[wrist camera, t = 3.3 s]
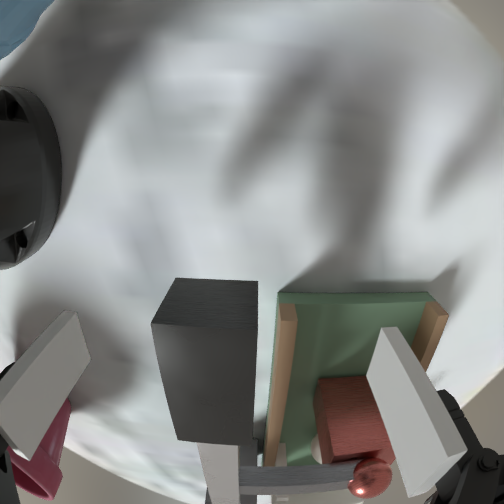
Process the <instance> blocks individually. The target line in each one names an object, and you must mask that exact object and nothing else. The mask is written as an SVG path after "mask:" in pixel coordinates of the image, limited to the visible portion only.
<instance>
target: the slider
mask: <svg viewBox="0 0 504 504" xmlns="http://www.w3.org/2000/svg"><path fill="white" fill-rule="evenodd" d="M151 328H152V334H153V339H154V344H155V349H156V354H157V359H158V364H159V369H160V373H161V378H162V382H163V386H164V390H165V394H166V398H167V402H168V406H169V410H170V414H171V418H172V421H173V425H174V428H175V432H176V435H177V439H178V440H182V441H190V442H197V446H198V450H199V455H200V459H201V463H202V467H203V472H204V476H205V480H206V484H207V487H208V491H209V495H210V499H211V502H212V504H240V494H244V495H286V494H305V493H317V492H327V491H335V490H342V489H348V490H349V491H350V493H351V494H353V495H354V496H356V497H358V498H363V499H364V498H366V499H367V498H372V497H376V496H378V495H380V494H381V493H383V492H384V491H385V490H386V489H387V488H388V486H389V485H390V483H391V480H392V470H391V467H390V465H391V464H392V462H393V461H394V460H395V459H396V457H395V454H394V451H393V448H392V445H391V442H390V439H389V436H388V433H387V431H386V428H385V425H384V422H383V419H382V417H381V414H380V411H379V408H378V406H377V403H376V400H375V398H374V395H373V392H372V390H371V387H370V385H369V382H368V379H367V377H366V376H356V377H341V378H322V379H318V383H317V387H316V391H315V395H314V399H313V409H314V415H315V421H316V427H317V433H318V439H319V446H320V452H321V458H322V464H318V465H304V466H278V467H258V466H240V446H252V436H253V417H254V398H255V378H256V357H257V335H258V281H241V280H215V279H192V278H175V280H174V282H173V284H172V285H171V287H170V289H169V291H168V292H167V294H166V296H165V298H164V300H163V301H162V303H161V305H160V307H159V309H158V311H157V312H156V314H155V316H154V318H153V320H152V322H151Z"/></svg>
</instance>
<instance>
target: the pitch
mask: <svg viewBox="0 0 504 504" xmlns="http://www.w3.org/2000/svg"><path fill="white" fill-rule="evenodd" d="M448 317H449V314H448V313H447V312H446V311H445V310H444V309H443V308H442V307H441V306H440V305H439V303H438V302H437V301H436V300H435V299H434V298H433V297H432V296H431V295H430V294H429V293H428V292H409V293H287V292H278V295H277V308H276V321H275V333H274V345H273V356H272V368H271V378H270V389H269V399H268V409H267V418H266V428H265V437H264V446H263V455H262V463H261V467H278V466H304V465H318V464H320V463H318V462H317V461H316V460H315V459H314V458H313V456H312V454H311V449H310V446H311V442H312V439H313V438H314V436H315V435H316V434H317V427H316V421H315V415H314V409H313V399H314V395H315V391H316V387H317V383H318V379H322V378H341V377H356V376H366V375H367V372H368V369H369V366H370V363H371V360H372V357H373V353H374V350H375V347H376V344H377V340H378V337H379V334H380V330H381V328H383V327H397V328H398V329H399V331H400V332H401V334H402V335H403V337H404V338H405V340H406V342H407V343H408V345H409V346H410V348H411V349H412V351H413V353H414V354H415V356H416V358H417V359H418V361H419V362H420V364H421V366H422V367H423V369H424V371H425V372H426V370H427V368H428V366H429V364H430V362H431V359H432V357H433V355H434V352H435V350H436V348H437V345H438V343H439V340H440V338H441V335H442V333H443V330H444V327H445V325H446V322H447V319H448ZM257 448H258V439H252V446H240V466H257ZM363 503H364V499H363V498H358V497H356V496H354V495H353V494H351V493H350V491H349V490H348V489H342V490H335V491H327V492H317V493H305V494H286V495H271V504H363ZM205 504H212V502H211V499H210V495H209V491H208V487H207V492H206V500H205ZM240 504H257V495H244V494H240Z"/></svg>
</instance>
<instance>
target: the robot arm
mask: <svg viewBox="0 0 504 504" xmlns="http://www.w3.org/2000/svg"><path fill="white" fill-rule="evenodd" d="M54 1H55V0H0V60H1V59H2V58H4V57H6V56H7V55H9V54H10V53H11V52H12V51H13V50H14V49H15V48H17V47H18V46H19V45H20V44H21V43H22V42H24V41H25V40H26V38H27V37H28V36H29V35H30V33H31V32H32V31H33V29H34V27H35V25H36V23H37V21H38V19H39V17H40V15H41V14H42V13H43V12H44V11H45V10H46V9H47V8H48V7H49V6H50V5H51V4H52V3H53V2H54ZM60 192H61V157H60V149H59V143H58V139H57V134H56V131H55V127H54V124H53V122H52V119H51V117H50V115H49V113H48V111H47V109H46V107H45V106H44V104H43V103H42V102H41V101H40V99H39V98H38V97H37V96H36V95H34V94H33V93H32V92H30V91H28V90H26V89H24V88H19V87H8V86H0V270H4V269H9V268H11V267H14V266H16V265H18V264H20V263H21V262H23V261H24V260H26V259H27V258H29V257H30V256H32V255H33V254H35V253H36V252H37V251H38V250H39V249H40V248H41V247H42V245H43V244H44V243H45V241H46V240H47V238H48V236H49V234H50V232H51V230H52V227H53V225H54V222H55V219H56V215H57V211H58V206H59V200H60ZM90 361H91V357H90V354H89V351H88V348H87V345H86V342H85V339H84V335H83V332H82V329H81V325H80V322H79V318H78V315H77V312H72V311H66V310H64V311H63V312H62V313H61V314H60V315H59V316H58V317H57V318H56V319H55V320H54V321H53V322H52V323H51V324H50V325H49V326H48V327H47V328H46V330H45V331H44V332H43V333H42V334H41V335H40V336H39V337H38V338H37V339H36V340H35V341H34V342H33V344H32V345H31V346H30V347H29V348H28V349H27V350H26V351H25V352H24V354H23V355H22V356H21V357H20V358H19V359H18V360H17V361H16V362H13V363H12V364H10V365H9V366H7V367H6V368H5V369H4V370H3V371H2V372H1V373H0V504H20V500H19V497H18V493H17V489H16V484H15V480H14V475H13V470H12V465H11V459H10V454H9V452H8V450H7V447H8V446H10V447H11V448H12V449H13V451H14V452H15V453H16V454H18V455H19V456H21V457H23V458H25V459H27V460H29V461H30V460H31V458H32V456H33V454H34V453H35V451H36V449H37V447H38V445H39V444H40V442H41V440H42V438H43V437H44V435H45V433H46V431H47V430H48V428H49V426H50V425H51V423H52V421H53V419H54V418H55V416H56V414H57V413H58V411H59V409H60V408H61V406H62V405H63V403H64V401H65V400H66V398H67V396H68V395H69V393H70V392H71V390H72V389H73V387H74V385H75V384H76V382H77V381H78V379H79V378H80V376H81V375H82V373H83V371H84V370H85V368H86V367H87V365H88V364H89V362H90ZM366 377H367V379H368V382H369V385H370V387H371V390H372V392H373V395H374V398H375V400H376V403H377V406H378V408H379V411H380V414H381V417H382V419H383V422H384V425H385V428H386V431H387V433H388V436H389V439H390V442H391V445H392V448H393V451H394V454H395V457H396V460H397V463H398V465H399V469H400V472H401V475H402V478H403V481H404V485H405V488H406V491H407V494H408V497H413V496H416V495H419V494H422V493H425V492H427V491H428V490H430V489H431V488H432V487H433V486H434V485H436V488H437V491H436V492H435V493H434V494H433V495H431V496H430V497H429V498H428V499H427V500H426V501H425V503H424V504H427V503H428V502H430V501H431V502H430V504H504V455H498V454H497V453H496V452H495V451H494V450H492V449H489V448H483V447H482V446H481V444H480V443H479V441H478V439H477V437H476V435H475V433H474V432H473V430H472V428H471V426H470V424H469V422H468V421H467V419H466V418H465V417H464V414H463V412H462V410H460V407H459V405H458V403H457V402H456V400H455V398H454V397H453V396H452V395H451V394H449V393H448V392H447V391H446V390H445V389H444V390H439V391H436V389H435V388H434V386H433V384H432V383H431V381H430V379H429V377H428V376H427V374H426V372H425V371H424V369H423V367H422V366H421V364H420V362H419V361H418V359H417V358H416V356H415V354H414V353H413V351H412V349H411V348H410V346H409V345H408V343H407V342H406V340H405V338H404V337H403V335H402V334H401V332H400V331H399V329H398V328H397V327H383V328H381V330H380V334H379V337H378V340H377V344H376V347H375V350H374V353H373V357H372V360H371V363H370V366H369V369H368V372H367V375H366Z"/></svg>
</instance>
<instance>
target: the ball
mask: <svg viewBox="0 0 504 504" xmlns="http://www.w3.org/2000/svg"><path fill="white" fill-rule="evenodd" d="M310 449H311V454H312V456H313V458H314V459H315V460H316V461H317V462H318V463H320V464H322V458H321V452H320V446H319V439H318V433H317V434H316V435H315V436H314V438H313V439H312V442H311V446H310Z"/></svg>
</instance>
